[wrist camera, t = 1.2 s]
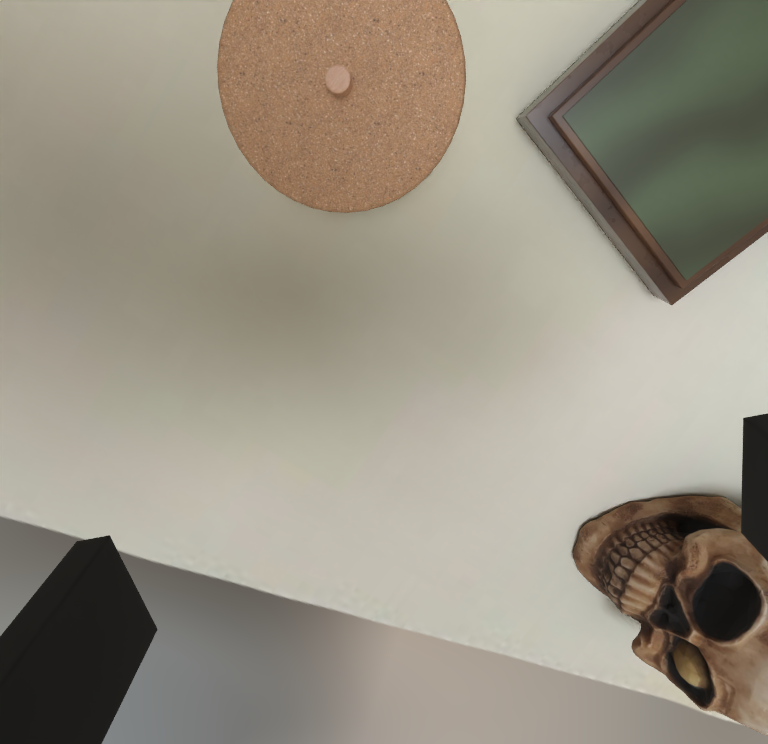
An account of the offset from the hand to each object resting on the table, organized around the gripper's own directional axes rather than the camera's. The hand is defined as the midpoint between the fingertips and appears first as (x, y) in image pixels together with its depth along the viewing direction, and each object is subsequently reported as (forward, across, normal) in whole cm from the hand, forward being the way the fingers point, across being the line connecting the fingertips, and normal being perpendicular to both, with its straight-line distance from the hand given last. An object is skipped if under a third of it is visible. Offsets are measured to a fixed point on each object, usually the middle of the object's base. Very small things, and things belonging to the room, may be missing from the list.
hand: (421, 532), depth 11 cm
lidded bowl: (+25, -1, +10) cm, 27 cm away
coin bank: (+25, +18, -26) cm, 40 cm away
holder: (+25, +18, +5) cm, 31 cm away
